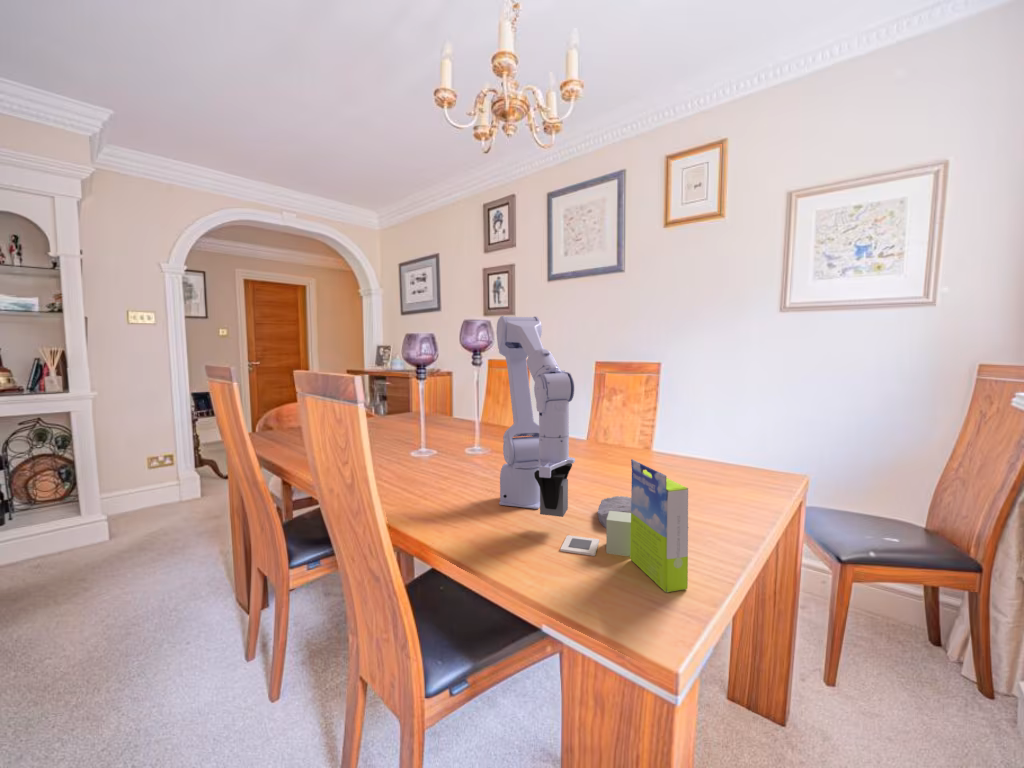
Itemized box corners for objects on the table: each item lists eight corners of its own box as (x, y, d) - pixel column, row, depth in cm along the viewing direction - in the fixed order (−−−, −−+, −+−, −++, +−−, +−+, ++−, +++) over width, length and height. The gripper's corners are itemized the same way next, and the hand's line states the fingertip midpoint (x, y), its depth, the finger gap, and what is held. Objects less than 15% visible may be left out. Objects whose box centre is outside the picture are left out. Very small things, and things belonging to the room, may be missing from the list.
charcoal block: (540, 514, 81) (539, 483, 81) (545, 506, 86) (545, 477, 85) (563, 516, 80) (563, 485, 79) (567, 508, 84) (567, 479, 84)
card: (560, 551, 74) (560, 548, 74) (567, 537, 80) (567, 534, 80) (594, 556, 72) (594, 553, 72) (599, 541, 78) (599, 538, 78)
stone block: (601, 538, 84) (652, 532, 82) (596, 515, 84) (647, 508, 82) (600, 518, 95) (646, 512, 93) (596, 497, 95) (641, 491, 93)
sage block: (606, 553, 73) (606, 519, 73) (609, 542, 78) (609, 510, 77) (633, 557, 72) (633, 522, 72) (634, 545, 76) (634, 513, 76)
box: (689, 590, 62) (691, 473, 60) (664, 594, 61) (665, 476, 60) (649, 557, 72) (650, 456, 71) (627, 559, 71) (628, 458, 70)
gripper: (566, 444, 73) (566, 520, 74) (581, 429, 87) (580, 494, 88) (527, 441, 76) (528, 515, 77) (547, 428, 89) (547, 490, 90)
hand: (554, 503), depth 83 cm, fingers closed on charcoal block, 4 cm apart
